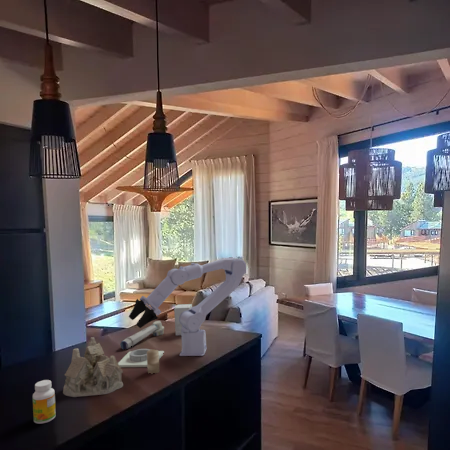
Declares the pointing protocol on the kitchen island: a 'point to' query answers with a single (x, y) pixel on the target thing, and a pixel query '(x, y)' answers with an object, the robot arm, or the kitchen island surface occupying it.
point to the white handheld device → (143, 335)
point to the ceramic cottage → (92, 373)
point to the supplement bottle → (44, 402)
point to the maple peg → (153, 361)
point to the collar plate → (136, 358)
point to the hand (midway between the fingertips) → (134, 322)
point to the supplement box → (177, 312)
